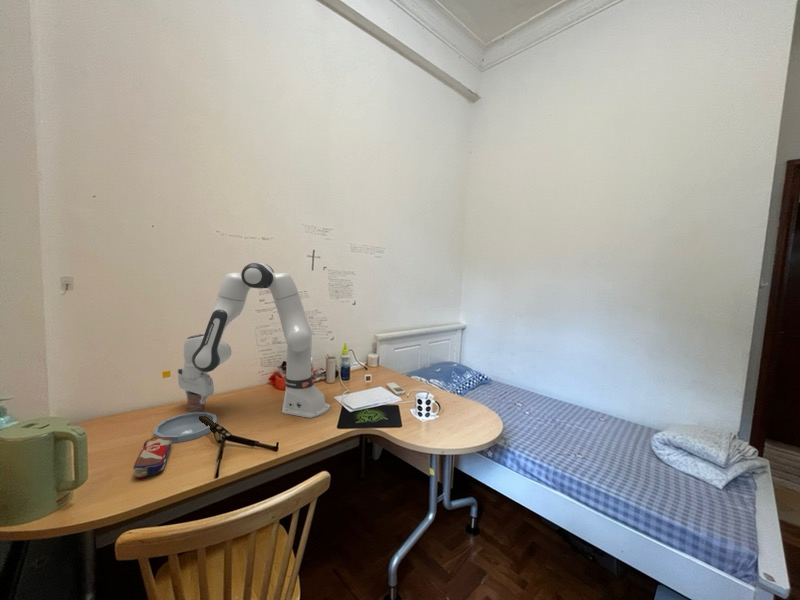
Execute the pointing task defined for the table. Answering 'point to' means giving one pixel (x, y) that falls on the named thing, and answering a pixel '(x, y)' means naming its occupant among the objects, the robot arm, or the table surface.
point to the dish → (184, 427)
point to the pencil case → (152, 456)
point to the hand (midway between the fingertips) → (196, 401)
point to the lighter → (195, 402)
